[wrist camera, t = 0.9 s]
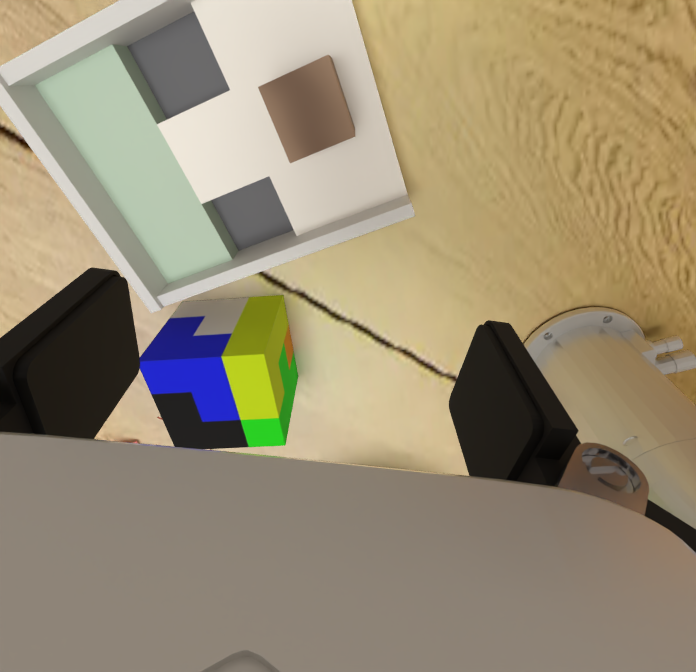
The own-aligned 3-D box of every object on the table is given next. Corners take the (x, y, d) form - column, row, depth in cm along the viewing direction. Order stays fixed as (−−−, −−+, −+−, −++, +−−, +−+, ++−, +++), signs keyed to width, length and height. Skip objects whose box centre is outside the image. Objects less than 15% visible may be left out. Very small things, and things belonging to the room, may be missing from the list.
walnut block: (331, 57, 27) (328, 54, 23) (355, 128, 29) (355, 136, 25) (270, 85, 28) (257, 87, 24) (298, 152, 30) (290, 163, 26)
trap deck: (327, -81, 25) (320, -116, 20) (407, 198, 34) (416, 218, 30) (36, 75, 30) (-23, 75, 25) (175, 284, 39) (151, 313, 34)
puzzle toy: (182, 301, 40) (136, 361, 31) (283, 294, 39) (264, 354, 31) (209, 380, 45) (176, 450, 37) (298, 375, 45) (285, 445, 36)
